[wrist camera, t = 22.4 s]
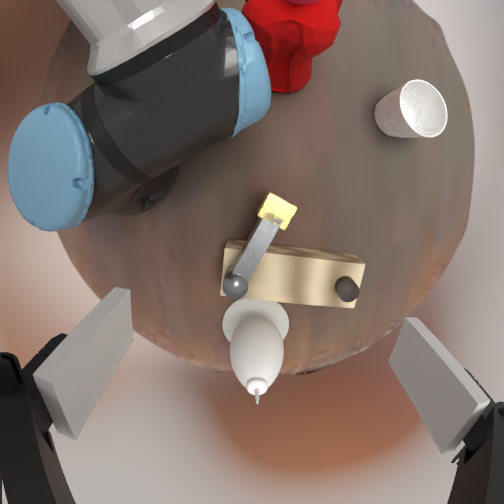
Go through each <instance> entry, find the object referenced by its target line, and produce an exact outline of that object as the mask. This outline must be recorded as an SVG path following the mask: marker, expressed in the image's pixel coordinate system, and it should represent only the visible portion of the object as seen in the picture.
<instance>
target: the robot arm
mask: <svg viewBox="0 0 504 504" xmlns="http://www.w3.org/2000/svg"><path fill="white" fill-rule="evenodd" d="M56 1H57V2H58V4H59V5H60V6H61V7H62V9H63V10H64V11H65V12H66V14H67V15H68V16H69V18H70V19H71V20H72V21H73V23H74V24H75V25H76V27H77V28H78V29H79V30H80V32H81V33H82V34H83V36H84V37H85V38H86V39H87V41H88V42H89V43H90V48H91V51H90V56H89V61H88V66H87V72H88V73H89V75H90V76H91V77H92V78H93V80H94V81H95V83H93V84H92V85H91V86H89V87H88V88H87V89H85V90H84V91H83V92H82V93H80V94H79V95H78V96H77V97H75V98H74V99H73V100H72V101H71V102H69V103H68V104H67V105H64V104H62V103H52V104H48V105H43V106H40V107H38V108H36V109H34V110H33V111H31V112H30V113H29V114H28V115H27V116H26V117H25V118H24V120H23V121H22V122H21V123H20V125H19V127H18V128H17V130H16V132H15V134H14V137H13V140H12V143H11V146H10V150H9V163H8V182H9V188H10V191H11V195H12V198H13V201H14V203H15V205H16V207H17V209H18V211H19V212H20V213H21V215H22V216H23V217H24V219H25V220H26V221H28V222H29V223H30V224H31V225H33V226H36V227H38V228H39V229H40V230H43V231H58V230H62V229H70V228H74V227H76V226H77V225H79V224H80V223H81V222H84V221H86V220H89V219H91V218H94V217H96V216H99V215H101V214H104V213H107V212H109V211H111V212H113V213H116V214H122V215H132V214H138V213H141V212H144V211H146V210H148V209H150V208H152V207H154V206H156V205H157V204H158V203H160V202H161V201H162V200H163V199H164V198H165V197H166V195H167V194H168V193H169V191H170V190H171V188H172V186H173V184H174V182H175V179H176V176H177V171H178V164H179V163H181V162H182V161H184V160H186V159H188V158H190V157H191V156H193V155H195V154H197V153H199V152H201V151H202V150H204V149H206V148H208V147H210V146H212V145H214V144H216V143H218V142H220V141H222V140H223V139H225V138H232V137H234V136H235V135H236V134H237V133H238V132H239V131H240V130H242V129H244V128H246V127H248V126H250V125H252V124H254V123H256V122H257V121H259V120H261V119H262V118H263V117H264V115H265V113H266V112H267V111H268V109H269V107H270V103H271V84H270V78H269V73H268V69H267V65H266V61H265V58H264V55H263V52H262V49H261V46H260V44H259V42H257V41H256V40H255V36H254V32H253V29H252V27H251V25H250V24H249V22H248V21H247V19H246V18H245V17H244V15H243V14H242V13H241V12H240V11H238V10H236V9H234V8H221V9H219V7H218V5H217V3H216V1H215V0H56ZM132 342H133V329H132V316H131V299H130V290H129V289H124V288H118V287H115V288H114V289H113V290H112V291H111V292H110V293H109V294H108V295H107V296H106V297H105V298H104V299H103V300H102V301H101V302H100V303H99V304H98V305H97V306H96V307H95V308H94V309H93V310H92V311H91V312H90V313H89V314H88V315H87V316H86V317H85V318H84V319H83V320H82V321H81V322H80V323H79V324H78V325H77V326H76V327H75V328H74V329H73V330H72V332H71V333H70V334H69V335H67V334H63V333H61V334H59V335H58V336H56V337H54V338H52V339H51V340H50V341H49V342H48V343H47V344H46V345H45V346H44V348H42V349H41V350H40V351H39V353H37V354H36V355H35V356H34V357H33V359H32V360H31V361H30V362H29V363H28V364H27V365H26V366H25V367H24V368H23V369H21V366H20V364H19V361H18V358H17V357H16V356H15V355H14V354H11V353H8V352H1V353H0V504H2V480H3V485H4V489H5V494H6V498H7V501H8V504H76V503H75V501H74V499H73V496H72V494H71V492H70V489H69V487H68V484H67V482H66V479H65V476H64V474H63V471H62V468H61V465H60V462H59V459H58V456H57V453H56V450H55V446H54V443H53V440H52V437H51V433H50V432H49V430H48V429H49V428H50V426H51V424H52V423H54V426H55V428H56V429H57V431H58V433H60V434H63V435H65V436H67V437H70V438H72V439H75V440H76V439H77V437H78V435H79V433H80V431H81V430H82V428H83V426H84V424H85V422H86V420H87V419H88V417H89V415H90V413H91V411H92V410H93V408H94V406H95V404H96V403H97V401H98V399H99V397H100V395H101V394H102V392H103V390H104V389H105V387H106V385H107V383H108V382H109V380H110V378H111V377H112V375H113V373H114V371H115V370H116V368H117V366H118V365H119V363H120V361H121V360H122V358H123V356H124V355H125V353H126V351H127V350H128V348H129V347H130V345H131V343H132ZM388 363H389V364H390V366H391V368H392V369H393V371H394V372H395V374H396V376H397V377H398V379H399V381H400V382H401V384H402V386H403V387H404V389H405V391H406V392H407V394H408V396H409V397H410V399H411V401H412V402H413V404H414V406H415V408H416V409H417V411H418V413H419V415H420V416H421V418H422V420H423V421H424V423H425V425H426V427H427V429H428V431H429V432H430V434H431V436H432V438H433V440H434V441H435V443H436V445H437V447H438V449H439V451H440V453H441V454H444V453H447V452H450V451H453V450H455V449H456V447H457V446H458V445H459V444H460V443H461V441H462V440H463V441H464V443H465V446H464V447H463V448H462V449H461V450H460V452H459V453H458V454H457V455H456V456H455V458H454V459H453V460H452V462H451V463H454V462H455V461H456V460H457V459H458V458H459V461H458V462H457V463H456V464H457V465H458V467H457V472H456V475H455V479H454V483H453V486H452V490H451V493H450V497H449V500H448V504H504V402H498V403H495V402H494V401H493V400H492V398H491V397H490V396H489V395H488V394H487V392H486V391H485V390H484V389H483V388H482V386H481V385H479V383H478V382H477V380H474V377H473V376H472V375H471V373H470V372H469V371H468V370H466V369H465V368H463V367H462V366H461V365H460V364H459V363H458V361H457V360H456V359H455V358H454V357H453V356H452V355H451V354H450V352H449V351H448V350H447V349H446V348H445V347H444V346H443V345H442V344H441V342H439V340H438V339H437V338H436V337H435V336H434V335H433V334H432V333H431V332H430V331H429V330H428V329H427V328H426V326H425V325H424V324H423V323H422V322H421V321H420V320H419V319H418V318H408V317H406V318H405V320H404V323H403V326H402V329H401V331H400V334H399V337H398V339H397V342H396V345H395V347H394V349H393V352H392V354H391V357H390V359H389V362H388Z"/></svg>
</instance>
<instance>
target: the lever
mask: <svg viewBox="0 0 504 504" xmlns="http://www.w3.org/2000/svg"><path fill="white" fill-rule="evenodd" d="M296 209H297V207H296V206H295V205H294V204H292V203H291V202H289V201H287V200H285V199H283V198H282V197H280V196H278V195H276V194H274V193H272V192H271V191H269V190H268V191H267V193H266V195H265V197H264V198H263V200H262V202H261V204H260V206H259V208H258V209H257V216H259V219H258V221H257V222H256V224H255V226H254V228H253V230H252V231H251V233H250V235H249V237H248V239H247V241H246V242H245V244H244V246H243V248H242V250H241V251H240V253H239V255H238V257H237V259H236V261H235V262H234V264H232V265H230V266H229V267H228V268H227V269H226V272H225V276H224V280H223V284H222V289H223V292H224V293H225V295H227V296H228V297H230V298H233V299H238V298H241V297H243V296H244V295H245V294H246V293H247V291H248V281H249V279H250V278H251V276H252V274H253V272H254V271H255V269H256V267H257V266H258V264H259V262H260V260H261V259H262V257H263V255H264V253H265V252H266V250H267V248H268V246H269V245H270V243H271V241H272V239H273V238H274V236H275V234H276V232H277V231H278V229H279V227H280V228H281V229H283V230H285V229H286V227H287V225H288V223H289V222H290V220H291V218H292V216H293V215H294V213H295V211H296Z"/></svg>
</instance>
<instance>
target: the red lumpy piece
mask: <svg viewBox="0 0 504 504" xmlns="http://www.w3.org/2000/svg"><path fill="white" fill-rule="evenodd" d="M245 1H246V4H245V5H244V6H243V9H242V14H243V15H244V17H245V18H246V19H247V21H248V22H249V24H250V25H251V27H252V29H253V32H254V36H255V40H256V41H257V42H259V44H260V46H261V49H262V52H263V55H264V58H265V61H266V65H267V69H268V73H269V78H270V84H271V91H276V92H282V93H284V92H296V91H298V90H299V89H301V88H303V87H304V86H305V85H306V84H307V82H308V81H309V79H310V77H311V68H312V57H314V56H316V55H319V54H320V53H322V52H323V51H325V50H326V49H327V48H329V47H330V46H331V45H332V44H333V43H334V40H335V38H336V35H337V33H338V30H339V28H340V25H341V22H340V19H339V16H338V12H339V9H340V6H341V4H342V0H245Z"/></svg>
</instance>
